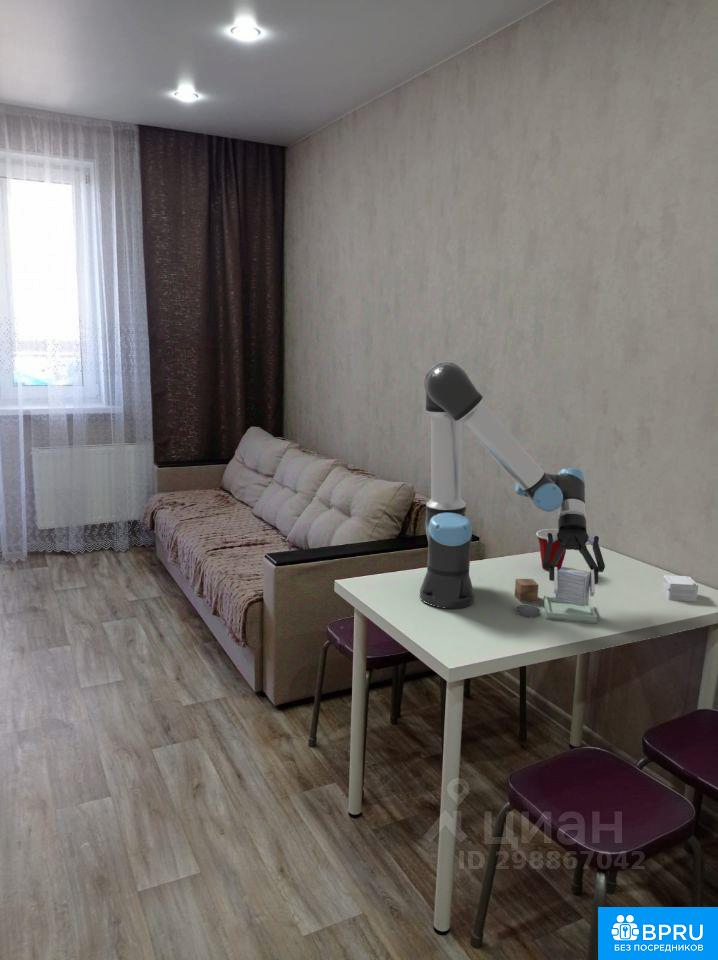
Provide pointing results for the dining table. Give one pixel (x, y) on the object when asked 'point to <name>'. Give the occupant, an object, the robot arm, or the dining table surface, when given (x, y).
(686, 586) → the small box
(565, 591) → the medicine box
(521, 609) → the dark grey pebble
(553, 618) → the tray
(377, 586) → the dining table surface
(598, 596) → the dining table surface
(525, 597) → the walnut cube
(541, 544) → the plastic cup
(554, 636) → the dining table surface
